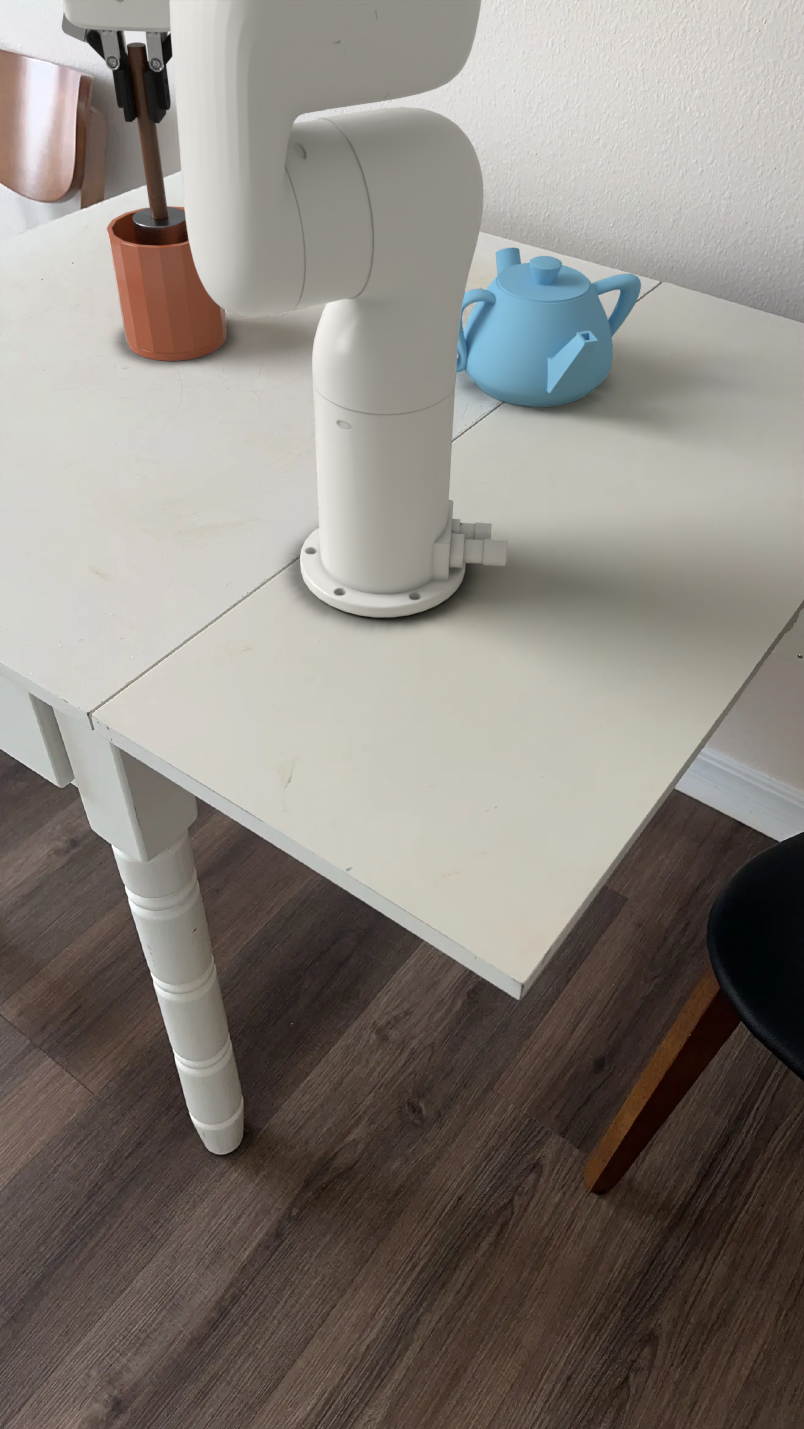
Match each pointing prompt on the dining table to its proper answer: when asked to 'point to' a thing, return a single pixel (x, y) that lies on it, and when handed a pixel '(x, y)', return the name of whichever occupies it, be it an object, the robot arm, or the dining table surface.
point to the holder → (162, 297)
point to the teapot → (541, 331)
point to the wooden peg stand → (152, 167)
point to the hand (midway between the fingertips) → (146, 116)
